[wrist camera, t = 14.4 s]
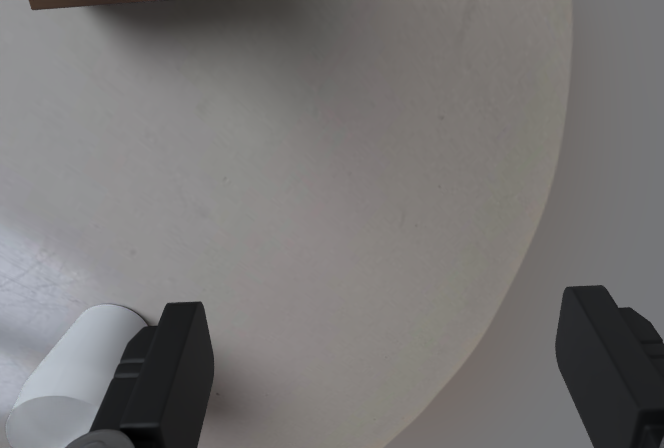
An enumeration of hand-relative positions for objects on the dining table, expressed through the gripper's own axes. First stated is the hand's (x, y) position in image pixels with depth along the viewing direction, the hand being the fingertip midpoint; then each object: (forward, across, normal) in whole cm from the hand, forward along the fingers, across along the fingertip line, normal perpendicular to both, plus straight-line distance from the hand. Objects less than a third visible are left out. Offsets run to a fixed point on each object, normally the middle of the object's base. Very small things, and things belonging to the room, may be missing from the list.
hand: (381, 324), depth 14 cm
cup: (+33, +23, +26) cm, 48 cm away
